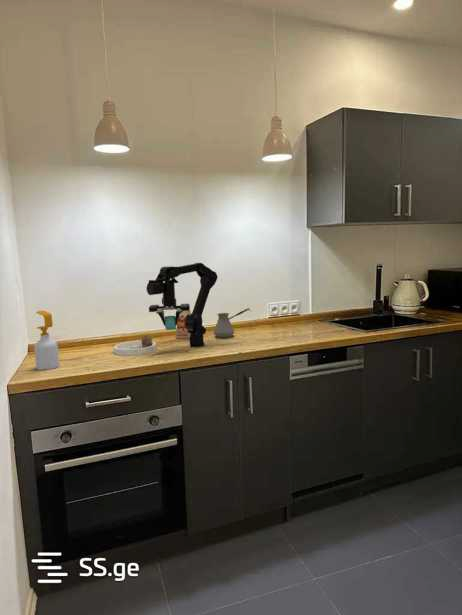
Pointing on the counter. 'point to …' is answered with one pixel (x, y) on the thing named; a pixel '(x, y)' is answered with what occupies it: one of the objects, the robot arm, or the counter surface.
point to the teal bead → (170, 322)
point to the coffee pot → (225, 325)
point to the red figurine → (182, 327)
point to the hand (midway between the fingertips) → (170, 325)
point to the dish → (133, 348)
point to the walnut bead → (146, 341)
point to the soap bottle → (46, 346)
